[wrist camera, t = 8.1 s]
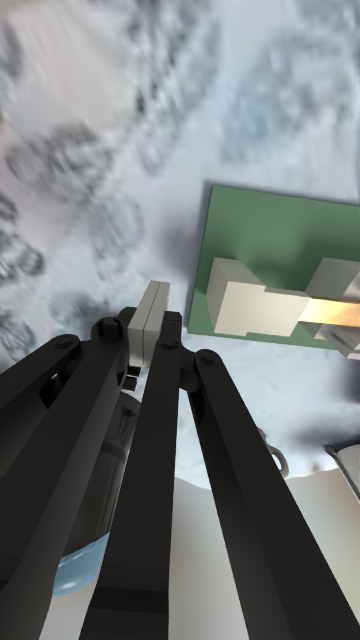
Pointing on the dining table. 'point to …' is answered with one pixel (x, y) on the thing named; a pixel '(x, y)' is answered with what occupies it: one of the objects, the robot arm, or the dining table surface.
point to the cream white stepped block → (250, 302)
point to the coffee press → (348, 465)
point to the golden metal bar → (332, 311)
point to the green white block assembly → (284, 258)
